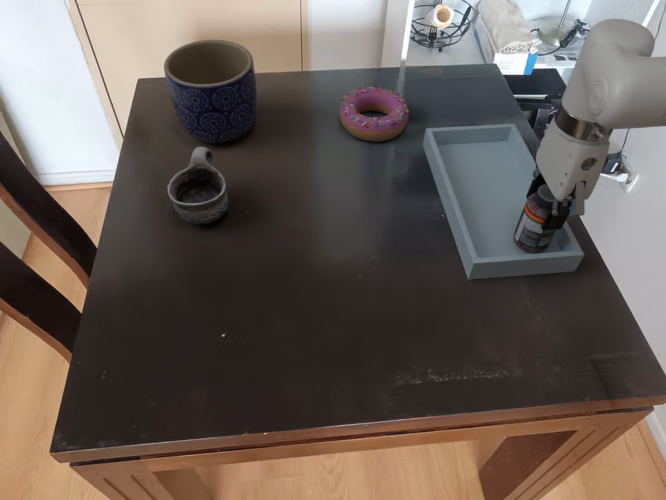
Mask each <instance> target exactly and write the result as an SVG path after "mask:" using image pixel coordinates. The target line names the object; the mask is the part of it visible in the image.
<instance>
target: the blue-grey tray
mask: <svg viewBox="0 0 666 500" xmlns="http://www.w3.org/2000/svg"><path fill="white" fill-rule="evenodd" d="M422 148H423V150H424V153H425V156H426V159H427V163H428V165H429V169H430V172H431V175H432V177H433V180H434V183H435V187H436V189H437V192H438V195H439V198H440V201H441V204H442V206H443V210H444V213H445V216H446V219H447V221H448V224H449V227H450V230H451V233H452V236H453V239H454V242H455V245H456V249H457V251H458V255H459V257H460V260H461V263H462V265H463V269H464V272H465V274H466V277H467V280H468V281H470V280H472V281H473V280H483V279H496V278H506V277H507V278H508V277H521V276H533V275H544V274H545V275H546V274H547V275H549V274H557V273H558V274H560V273H573V272H576V270H577V269H578V267H579V265H580V264H581V262H582V260H583V258H584V257H585V253H584V251H583V249H582V247H581V246H580V244H579V242H578V240H577V238H576V235H574V233H573V231H572V229H571V227H570V225H569V223H568V221H567V220H566V221H565V223H564V225H563V227H562V228H561V229H559V230H556V232H555V234H554V236H553V238H552V240H551V242H550V244H549V246H548V248H547V249H546V250H545V251H543V252H540V253H529V252H526V251H524V250H522V249H520V248H519V247H518V246H517V245H516V243H515V242H514V239H513V235H514V231H515V229H516V226H517V224H518V221H519V218H520V216H521V213H522V211H523V208H524V206H525V203H526V201H527V198H526V195H527V193H528V190H529V188H530V185H531V183H532V180H533V179H534V178H533V172H534V171H535V169H536V162H535V159H534V158H533V156H532V153H531V151H530V149H529V148H528V146H527V143H526V142H525V141H524V138H523V137H522V134H521V133H520V131H519V129H518V127H517V125H516V124H515V123H502V124H499V123H498V124H483V125H482V124H481V125H463V126H447V127H427V128H425V130H424V136H423V143H422Z"/></svg>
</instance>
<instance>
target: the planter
mask: <svg viewBox="0 0 666 500" xmlns="http://www.w3.org/2000/svg"><path fill="white" fill-rule="evenodd" d="M163 70H164V76H165V81H166V84H167V85H166V86H167V90H168V93H169V97H170V100H171V103H172V107H173V110H174V113H175V115H176V118H177V121H178V123H179V124H180V126H181V128H182V129H183V130H184V131H185V132H186V133H187V134H188V135H190V136H191V137H193V139H196V140H197V141H201V142H204V143H207V144H224V143H229V142H232V141H235V140H237V139H239V138H241V137H242V136H244V135H245V134H246V133H247V132H248V131H249V130H250V129H251V128H252V126H253V124H254V122H255V121H256V118H257V113H258V93H257V91H258V90H257V81H256V69H255V64H254V57H253V55H252V53H251V52H250V51H249V50H248V49H247V48H246V47H245V46H243V45H241V44H239V43H237V42H233V41H230V40H224V39H204V40H198V41H197V40H196V41H193V42H190V43H187V44H184V45H182V46H180V47H177V48H176V49H174V51H172V52H171V53H170V54H168V56H167V57H166V59H165V60H164V64H163Z"/></svg>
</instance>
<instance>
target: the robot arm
mask: <svg viewBox="0 0 666 500" xmlns="http://www.w3.org/2000/svg"><path fill="white" fill-rule="evenodd" d="M655 43H656V41H655V37H654V35H653V33H652V32H651V31H650V29H648V28H647V27H646V26H644V25H642V24H640V23H638V22H635V21H632V20H628V19H622V18H607V19H604V20H600V21H599V22H597V23H595V24H594V25H593V26H592V27H591V28H590V29H589V31H588V32H587V35H586V36H585V39H584V41H583V44H582V46H581V49H580V51H579V54H578V57H577V59H576V61H575V64H574V67H573V69H572V72H571V75H570V77H569V80H568V81H567V83H566V87H565V89H564V93H563V95H562V97H561V99H560V102H559V104H558V107H557V109H556V112H555V114H554V116H553V118H552V119H551V121H550V123H549V125H548V126H547V128H546V130H545V133H544V134H543V136H542V139H541V141H540V142H538V143H537V144H536V156H535V159H534V161H535V163H536V169H535V171H534V172H533V178H534V179H533V180H532V183H531V185H530V188H529V190H528V193H527V195H526V198H527V199H528V197H529V196H530V195H532V194H533V193H536V192H537V190H538V188H539V187H540V186H541V185H544V184H547V185H548V187H549V189H550V190H551V192H552V194H553V195H554V201H553V206H552V210H548V212H547V214H546V217H545V219H544V221H543V223H542V225H541V229H542V230H543V231H545V230H559V229H561V228H562V227H563V225H564V223H565V221H567V219H568V217H578V216H579V217H580V216H581V217H582V216H585V212H586V211H585V210H586V209H585V206H586V205H585V201H587V200H589V198H590V197H591V195H592V194H593V192H594V190H595V187H596V185H597V183H598V181H599V179H600V177H601V174H602V172H603V168H604V166H605V164H606V161H607V156H608V153H609V149H610V145H611V143H610V137H611V135H612V134H613V131H614V130H627V129H630V130H631V129H646V128H657V127H666V55H665V56H652V54H653V52H654V50H655ZM565 200H566V201H567V202H566V206H565V207H560V205H561V201H563V202H564V201H565Z"/></svg>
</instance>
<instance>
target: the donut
mask: <svg viewBox="0 0 666 500" xmlns="http://www.w3.org/2000/svg"><path fill="white" fill-rule="evenodd" d="M365 112H379V113H381V114H384V116H380V117H375V116H373V117H371V116H366V115H364V114H363V113H365ZM409 113H410V109H409V108H408V102H407V100H405V99H404V98H402V95H401V94H400V93H398V92H397V91H393V89H390V88H388V87H387V88H385V87H383V86H364V87H360V88H357V89H353V90H351V91H349V92H348V93H347V95H343V98H342V102H341V104H340V107H339V112H338V116H339V120H340V122H341V124H342V126H343V128H344V129H345V130H346V131H347V133H349V134H350V135H351V136H353V137H355V138H357V139H359V140H363V141H367V142H384V141H388V140H392V139H394V138H395V137H398V136H399V135H400V134H401V133H402V132H403V131H404V130H405V128H406V126H407V124H408V120H409Z"/></svg>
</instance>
